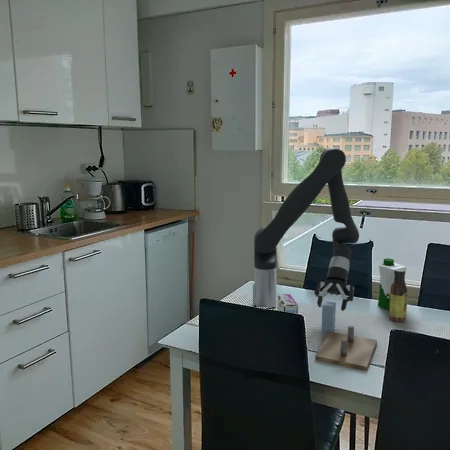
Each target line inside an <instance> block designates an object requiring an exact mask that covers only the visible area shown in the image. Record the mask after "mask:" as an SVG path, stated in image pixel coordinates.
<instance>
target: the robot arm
mask: <svg viewBox="0 0 450 450" xmlns="http://www.w3.org/2000/svg"><path fill="white" fill-rule="evenodd" d="M346 162H347V157H346V153H345V152H344V150H342V149H340V148H337V147H329V148H326V149H324V150H323V151H322V152H321V153H320V157H319V162H318V164H317V165H316V167H315V168H314V169H313V171H312V172H311V173H310V174H309V175H308V176H306V177H305V178H304V179H303V180H302V181H301V182H300V183H298V184H296V186H295V187H294V188H293V189H292V191H290V193H289V194H288V195H287V197H285V199H284V201H283V202H282V204H281V205H280V207H279V209H278V211H277V212H276V214H275V215H274V217H273V219H272V220H271V222H270V223H268V224H267V226H266V227H262V228H260V229H258V230H257V231H256V232H255V234H254V238H253V243H254V244H253V245H254V246H253V247H254V248H253V250H254V251H253V253H254V254H253V255H254V257H253V258H254V259H253V260H254V261H253V262H254V264H253V265H254V283H253V284H252V305H253V304H254V305H256V306H258V307H262V308H263V307H265V308H266V307H268V308H271V307H274V306H276V307H277V261H278V260H277V246H278V244H279V243H280V241H281V240H282V239H283V238H284V235H285V234H286V233H287V231H289V229H290V228H291V227H292V226H293V225H294V224H295V223H296V222H297V221H298V220H299V219H300V218H301V216H302V215H303V214H305V212H306V211H307V210H308V208H310V206H311V205H312V204H313V203H314V201H315V200H316V199H317V197H318V196H319V194H320V193H321V192H322V190H323V189H324V188H325V187H326V185H327V187H328V191H329V199H330V203H331V213H332V218H333V221H334V222H335V223H339V224H342V225H344V226H339V227H335V228H334V229H333V230H332V233H331V234H332V235H331V236H332V244H333V245H332V247H333V249H332V250H333V251H332V256H331V259H330V263H329V266H328V270H327V271H328V272H327V276H326V279H325V281H321V280H319V279H318V280H317V283H316V286H315V289H314V291H313V293H314V295H315V297H317V302H316V304H317V306H318V308H321V309H322V304H323V302H324V301H323V300H324V297H326V296H328V295H329V294H330V295H335V296H339V295H340V297H341V298H342V301H341V307H340V310H341V311H343V312H344V311H345V310H346V309H347V305H348V302H353V301H354V293H355V287H354V284H353V283H352V284H347V280H348V275H349V273H350V272H349V271H350V260H351V256H352V249H351V247H349V246H347V245H352V244H353V245H354V244H356V243H357V242H359V239H360V232H359V229H358V227H357V225H356V224H355V221H354V219H353V217H352V213H351V206H350V201H349V198H348V197H349V196H348V193H347V192H346V188H345V184H344V180H343V173H342V172H343V171H342V169H344V167H345V165H346ZM323 286H324V288H323ZM321 288H323V289H322V290H321ZM345 290H347V291H348V292H349V293H348V296H347V295H346V294H345V292H344V291H345Z"/></svg>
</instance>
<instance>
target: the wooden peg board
mask: <svg viewBox="0 0 450 450" xmlns="http://www.w3.org/2000/svg"><path fill="white" fill-rule="evenodd" d="M377 343H378V340H377V339H376V338H375V339H374V338H368V337H363V336H358V335H355V327H354V326H353V325H349V326H347V334H345V333H341V332H335V331H333V332H329V334H328V335H327V337H326V338H325V340H324V341H323V343H322V344H321V346H320V347H319V349H318V351H317V353H316V354H315V356H314V357H315V358H314V361H317V362H322V363H327V364H332V365H336V366H341V367H345V368H350V369H353V370H360V371H363V372H367V371H368V370H369V369H368V368H369V366H370V363H371V361H372V358H373V355H374V353H375V349H376V346H377V345H378V344H377Z"/></svg>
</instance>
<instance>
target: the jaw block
mask: <svg viewBox="0 0 450 450" xmlns="http://www.w3.org/2000/svg"><path fill="white" fill-rule="evenodd" d="M336 305H337V303H336V302H334V301H333V302H332V301H326V300H325V301H323V302H322V305H321V331H323V330H324V331H325V332H329V333H330V332H334V330H335V329H336V314H337V313H336V307H337V306H336Z"/></svg>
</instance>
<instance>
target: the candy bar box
mask: <svg viewBox="0 0 450 450" xmlns="http://www.w3.org/2000/svg"><path fill="white" fill-rule="evenodd" d="M276 307H277V309H276V310H277V311H283V312H289V313H295V314H299V311H298V309H299V305H298V303H297V301H295V299H294V298H293V296H292V294H291V293H287V294H285V293H283V294H277V304H276Z"/></svg>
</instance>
